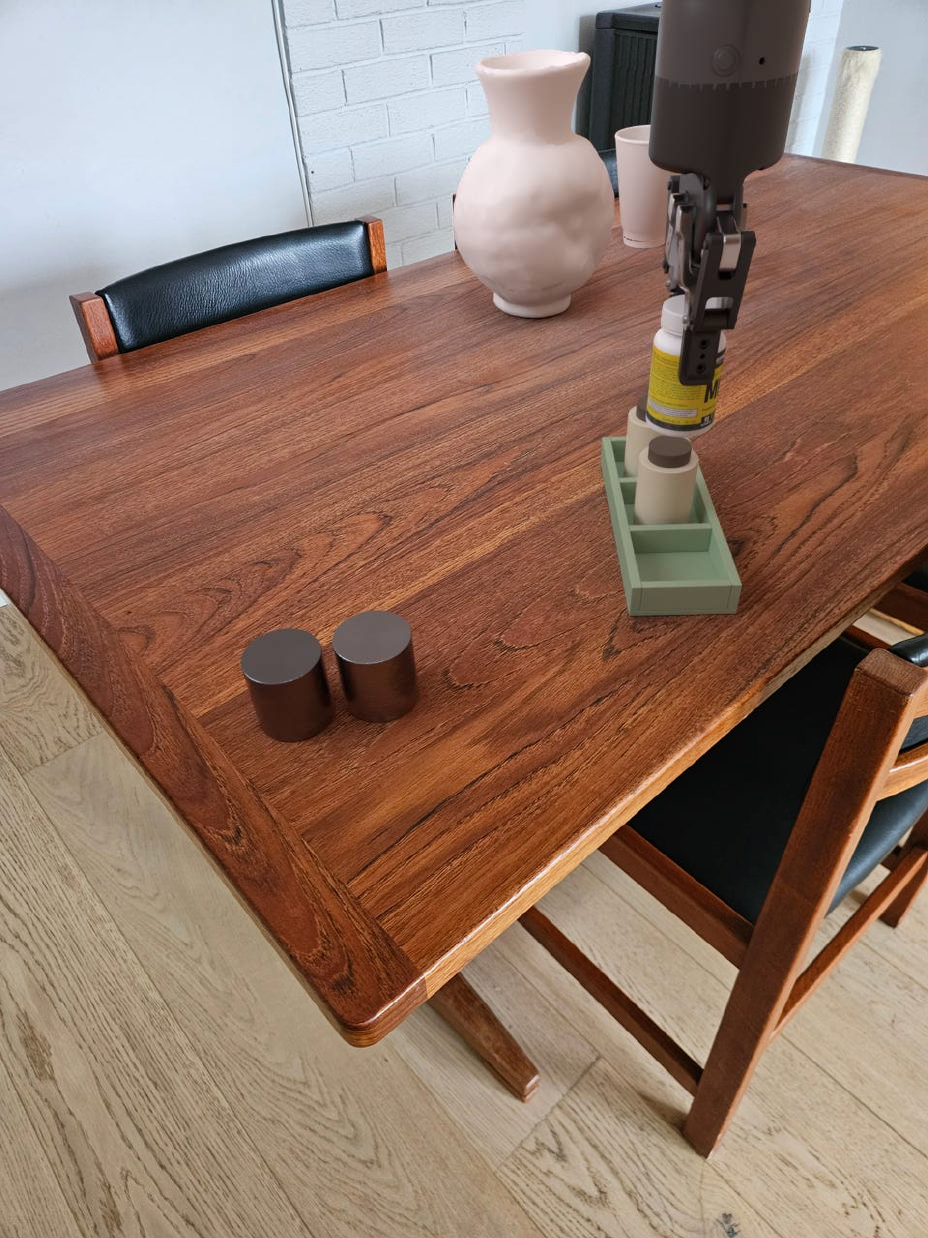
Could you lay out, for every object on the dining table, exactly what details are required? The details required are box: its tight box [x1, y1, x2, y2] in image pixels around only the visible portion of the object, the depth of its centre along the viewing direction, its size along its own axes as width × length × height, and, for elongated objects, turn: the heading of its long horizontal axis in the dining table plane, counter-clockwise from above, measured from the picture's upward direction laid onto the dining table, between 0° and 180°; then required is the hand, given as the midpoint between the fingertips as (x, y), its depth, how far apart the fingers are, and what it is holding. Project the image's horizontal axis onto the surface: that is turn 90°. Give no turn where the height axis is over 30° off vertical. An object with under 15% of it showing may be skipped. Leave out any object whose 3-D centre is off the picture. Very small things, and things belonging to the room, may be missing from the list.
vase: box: [452, 48, 615, 319], centre depth 109 cm, size 19×21×30 cm
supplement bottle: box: [646, 295, 727, 438], centre depth 56 cm, size 5×5×8 cm
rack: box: [599, 435, 743, 617], centre depth 75 cm, size 9×24×3 cm, turn 178°
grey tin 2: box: [331, 609, 420, 723], centre depth 60 cm, size 6×6×6 cm
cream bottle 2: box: [633, 435, 700, 525], centre depth 73 cm, size 5×5×8 cm
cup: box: [614, 124, 681, 249], centre depth 132 cm, size 12×12×16 cm
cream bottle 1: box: [623, 394, 664, 478], centre depth 79 cm, size 5×5×8 cm
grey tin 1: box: [239, 627, 336, 743], centre depth 59 cm, size 6×6×6 cm
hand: (687, 363), depth 55 cm, fingers closed on supplement bottle, 4 cm apart
